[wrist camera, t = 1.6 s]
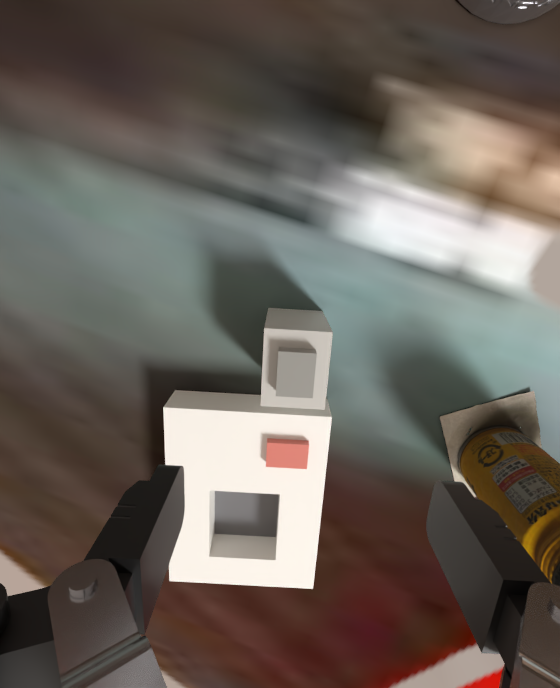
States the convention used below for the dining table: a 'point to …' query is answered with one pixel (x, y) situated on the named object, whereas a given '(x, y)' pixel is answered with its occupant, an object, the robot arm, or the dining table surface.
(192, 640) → the dining table surface
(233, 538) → the socket plate
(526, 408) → the condiment
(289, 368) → the plug
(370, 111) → the dining table surface
